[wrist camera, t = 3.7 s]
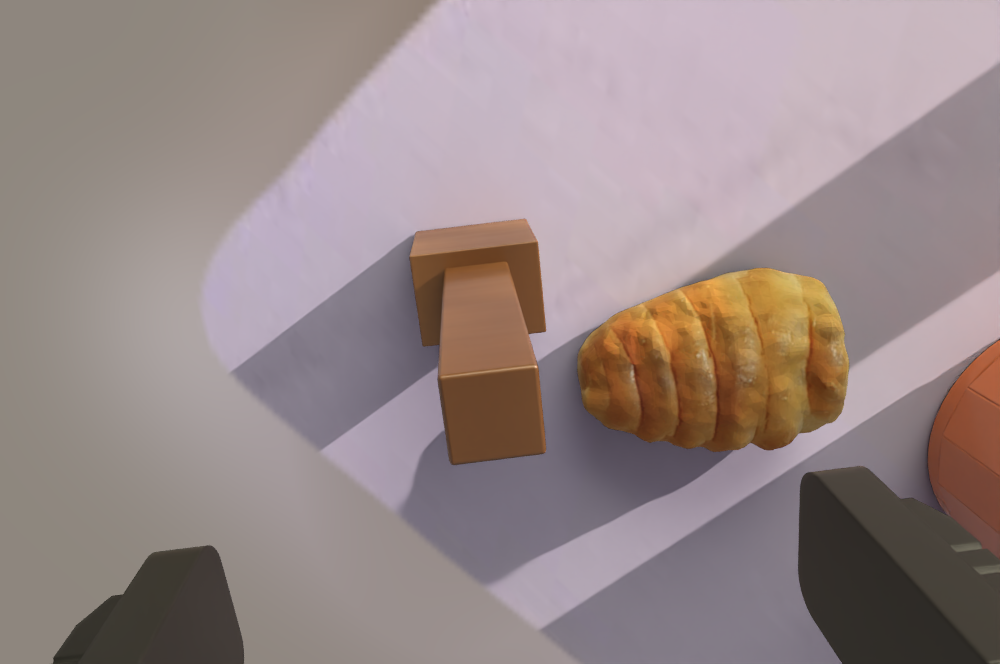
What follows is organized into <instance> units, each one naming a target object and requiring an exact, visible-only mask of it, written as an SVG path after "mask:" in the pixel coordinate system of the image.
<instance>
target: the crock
mask: <svg viewBox="0 0 1000 664" xmlns="http://www.w3.org/2000/svg"><path fill="white" fill-rule="evenodd" d="M928 470H929V477H930V482H931V485H932V488H933V491H934V494H935V496H936V498H937V500H938V502H939V504H940V506H941V507H942V509H943V510H944V511H945V513H946V514H947V515H948V516H950V517H952V518H953V519H954V520H955V521H957V522H958V523H959V524H960V525H961V526H962V527H963V528H965V529H966V530H967V531H968V532H969V533H970V534H971V535H972V536H974V537H975V538H976V539H977V540H978V541H979V542H980V543H981V546H982V548H983V549H988V550H989V551H991V552H992V553H993V554H994V555H995V556H996V557H997V558H999V559H1000V340H999V341H997V342H996V343H994V344H993V345H991V346H990V347H989V348H988V349H986V350H985V351H984V352H983V353H982V354H981V355H980V356H978V357H977V358H976V359H975V360H974V361H973V362H972V363H971V364H970V365H969V366H968V367H967V369H966V370H965V371H964V372H963V373H962V374H961V375H960V377H959V378H958V379H957V381H956V382H955V383H954V385H953V386H952V387H951V389H950V391H949V392H948V394H947V396H946V397H945V399H944V401H943V403H942V404H941V407H940V409H939V411H938V414H937V416H936V418H935V421H934V424H933V428H932V431H931V434H930V441H929V447H928Z"/></svg>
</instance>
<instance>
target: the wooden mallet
mask: <svg viewBox="0 0 1000 664" xmlns="http://www.w3.org/2000/svg"><path fill="white" fill-rule="evenodd" d="M409 259H410V266H411V272H412V279H413V285H414V292H415V299H416V305H417V312H418V319H419V325H420V332H421V339H422V345H423V346H424V347H425V346H433V345H440V346H439V363H438V387H439V393H440V400H441V407H442V414H443V421H444V428H445V435H446V441H447V448H448V455H449V461H450V463H451V464H452V465H459V464H467V463H475V462H483V461H491V460H499V459H507V458H515V457H523V456H531V455H539V454H544V453H545V451H546V441H545V431H544V421H543V410H542V400H541V390H540V380H539V370H538V365H537V361H536V358H535V355H534V351H533V348H532V344H531V341H530V337H529V334H533V333H541V332H546V324H545V313H544V302H543V291H542V281H541V270H540V259H539V248H538V241H537V239H536V237H535V236H534V234H533V232H532V230H531V228H530V226H529V224H528V222H527V220H526V219H519V220H511V221H502V222H494V223H485V224H477V225H468V226H460V227H451V228H443V229H434V230H426V231H417V232H416V233H415V237H414V241H413V245H412V249H411V253H410V256H409Z"/></svg>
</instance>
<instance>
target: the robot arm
mask: <svg viewBox="0 0 1000 664" xmlns="http://www.w3.org/2000/svg"><path fill="white" fill-rule="evenodd" d="M798 574H799V582H800V587H801V591H802V595H803V598H804V601H805V604H806V606H807V609H808V611H809V613H810V615H811V616H812V618H813V620H814V621H815V623H816V624H817V626H818V627H819V629H820V630H821V632H822V633H823V635H824V636H825V638H826V639H827V641H828V642H829V644H830V646H831V647H832V649H833V650H834V652H835V653H836V655H837V656H838V658H839V659H840V661H841V662H842V664H1000V559H999V558H997V557H996V556H995V555H994V554H993V553H992V552H991V551H989V550H988V549H983V548H982V546H981V543H980V542H979V541H978V540H977V539H976V538H975V537H974V536H972V535H971V534H970V533H969V532H968V531H967V530H966V529H965V528H963V527H962V526H961V525H960V524H959V523H958V522H957V521H955V520H954V519H953V518H952V517H950V516H948V515H946V514H944V513H942V512H940V511H938V510H936V509H934V508H932V507H930V506H928V505H926V504H924V503H922V502H920V501H918V500H916V499H914V498H906V499H900V498H899V497H898V496H897V495H896V494H895V493H894V492H892V491H891V490H890V489H889V488H888V487H887V486H886V485H885V484H884V483H883V482H882V481H881V480H880V479H879V478H878V477H877V476H875V475H874V474H873V473H872V472H871V471H870V470H869V469H868V468H866V467H864V466H857V467H849V468H841V469H832V470H824V471H816V472H809V473H806V474H805V475H804V476H803V478H802V480H801V485H800V508H799V552H798ZM53 659H54V662H53V664H244V648H243V641H242V636H241V632H240V628H239V625H238V621H237V617H236V613H235V610H234V606H233V602H232V599H231V595H230V591H229V588H228V584H227V580H226V577H225V573H224V569H223V566H222V562H221V559H220V556H219V554H218V552H217V550H216V549H215V548H214V547H213V546H200V547H193V548H185V549H176V550H169V551H160V552H154V553H152V554H151V555H150V556H149V557H148V558H147V559H146V560H145V562H144V564H143V565H142V567H141V568H140V570H139V571H138V573H137V574H136V576H135V577H134V579H133V580H132V582H131V583H130V585H129V586H128V588H127V589H126V591H125V593H124V594H123V595H115V596H111V597H110V598H109V599H107V600H106V601H105V602H104V603H103V604H101V605H100V606H99V607H98V608H97V609H95V610H94V611H93V612H92V613H91V614H89V615H88V616H87V617H86V618H85V619H84V620H82V621H81V622H80V623H79V624H77V625H76V627H75V628H74V630H73V631H72V632H71V634H70V635H69V636H68V638H67V639H66V641H65V642H64V644H63V645H62V646H61V648H60V649H59V651H58V652H57V653H56V655H55V656H54V658H53Z"/></svg>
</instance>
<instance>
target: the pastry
mask: <svg viewBox="0 0 1000 664" xmlns="http://www.w3.org/2000/svg"><path fill="white" fill-rule="evenodd" d="M844 336H845V333H844V329H843V325H842V322H841V319H840V316H839V313H838V310H837V308H836V305H835V303H834V302H833V300H832V298H831V297H830V295H829V293H828V291H827V289H826V287H825V286H824V284H823V283H821V282H820V281H819V280H817V279H815V278H812V277H807V276H802V275H797V274H791V273H785V272H781V271H777V270H774V269H770V268H755V269H750V270H745V271H738V272H731V273H726V274H723V275H720V276H717V277H715V278H712V279H710V280H706V281H700V282H697V283H695V284H692V285H688V286H684V287H681V288H679V289H676V290H674V291H671V292H669V293H666V294H663V295H661V296H659V297H656V298H654V299H651V300H649V301H646V302H644V303H641V304H639V305H636V306H634V307H631V308H629V309H626V310H624V311H622V312H619V313H617V314H615V315H614V316H612V317H611V318H609V319H608V320H607V321H606V322H605V323H604V324H602V325H601V326H600V327H599V328H597V329H596V330H595V331H593V332H592V333H591V334H590V335H589V336H588V337H587V339H586V340H585V342H584V343H583V345H582V347H581V349H580V350H579V353H578V359H577V362H578V364H577V372H578V378H579V383H580V388H581V395H582V402H583V405H584V408H585V409H586V410H587V411H588V412H589V413H590V414H591V415H593V416H594V417H595V418H596V419H598V420H599V421H601V422H602V424H603V425H604V426H606V427H607V428H609V429H614V430H621V431H625V432H628V433H632V434H634V435H636V436H637V437H639V438H640V439H642V440H644V441H646V442H649V443H651V442H655V441H667V442H670V443H672V444H673V445H676V446H679V447H683V448H686V449H692V448H695V447H704V448H707V449H708V450H710V451H713V452H720V451H726V450H739V449H741V448H744V447H745V446H747V445H748V444H749V443H753V444H755V445H756V446H758V447H760V448H762V449H764V450H774V449H777V448H782V447H784V446H786V445H788V444H790V443H791V442H792V441H793V439H794V438H795V437H796V436H797V435H798V434H799V433H807V432H812V431H814V430H816V429H818V428H820V427H821V426H823V425H825V424H826V423H832V422H834V421H835V420H836V419H837V418H838V416H839V415H840V414H841V412H842V409H843V406H844V400H845V396H846V389H847V384H848V372H849V359H848V355H847V352H846V349H845V344H844Z"/></svg>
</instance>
